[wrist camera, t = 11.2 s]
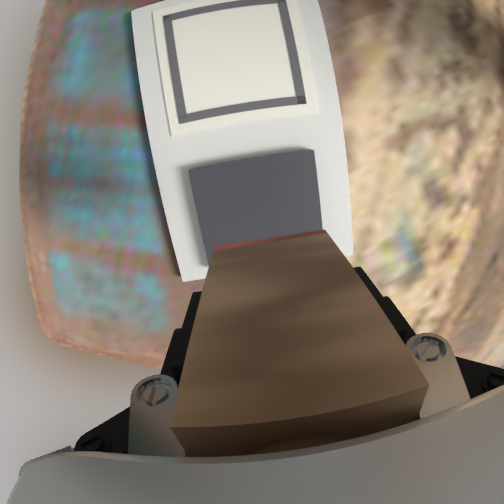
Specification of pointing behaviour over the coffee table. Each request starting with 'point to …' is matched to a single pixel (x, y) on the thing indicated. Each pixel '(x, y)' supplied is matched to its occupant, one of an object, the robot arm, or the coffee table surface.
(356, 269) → the robot arm
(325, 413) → the stamp
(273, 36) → the desk board
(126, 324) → the coffee table surface
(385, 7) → the coffee table surface
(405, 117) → the coffee table surface
